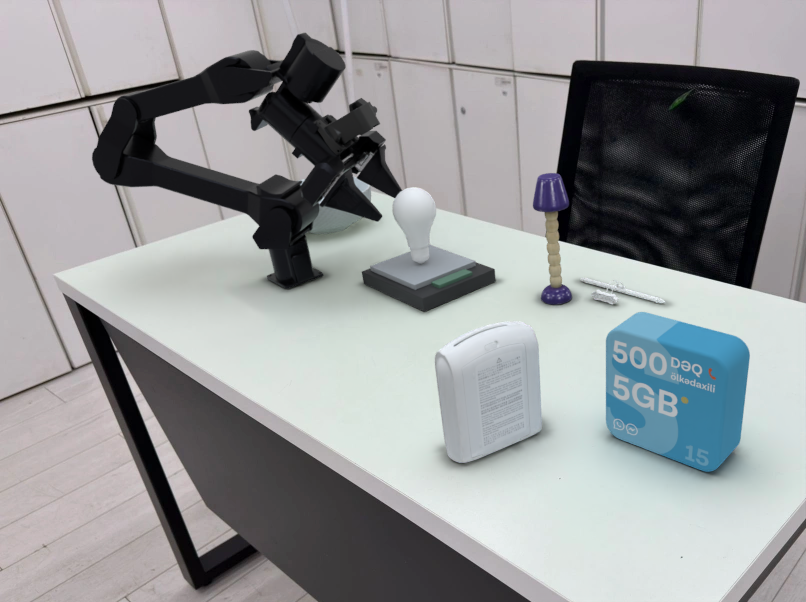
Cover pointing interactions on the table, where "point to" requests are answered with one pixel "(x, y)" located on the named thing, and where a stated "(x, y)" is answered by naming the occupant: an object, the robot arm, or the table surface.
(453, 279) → the scale
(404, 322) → the table surface
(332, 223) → the cereal bowl
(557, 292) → the toy lamp
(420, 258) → the lightbulb
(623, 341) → the data package
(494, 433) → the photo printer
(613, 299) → the picture light
